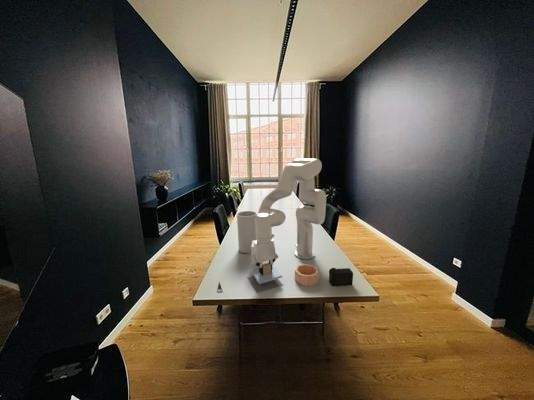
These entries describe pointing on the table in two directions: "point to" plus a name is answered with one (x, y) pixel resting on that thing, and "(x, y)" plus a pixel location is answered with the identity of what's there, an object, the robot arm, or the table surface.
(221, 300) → the table surface
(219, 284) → the smartphone
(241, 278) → the table surface
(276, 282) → the mat
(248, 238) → the cylinder vase
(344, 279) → the digital camera
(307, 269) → the bowl
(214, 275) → the table surface
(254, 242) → the supplement box
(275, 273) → the lid
